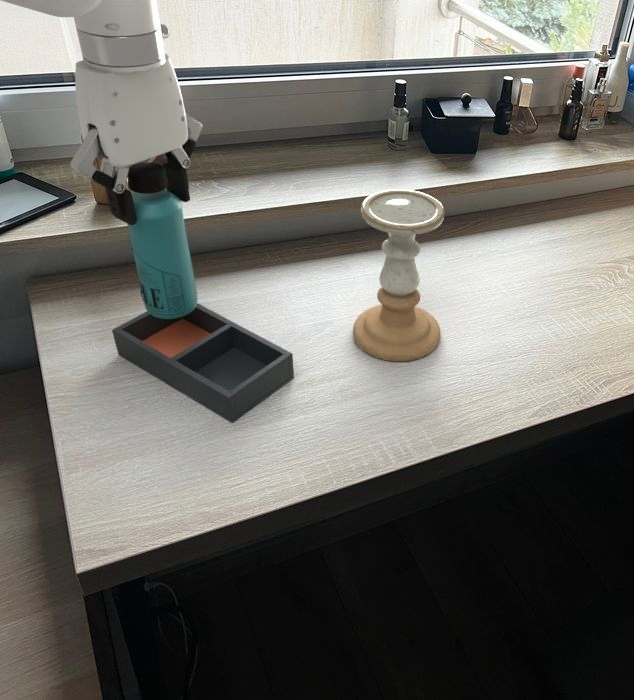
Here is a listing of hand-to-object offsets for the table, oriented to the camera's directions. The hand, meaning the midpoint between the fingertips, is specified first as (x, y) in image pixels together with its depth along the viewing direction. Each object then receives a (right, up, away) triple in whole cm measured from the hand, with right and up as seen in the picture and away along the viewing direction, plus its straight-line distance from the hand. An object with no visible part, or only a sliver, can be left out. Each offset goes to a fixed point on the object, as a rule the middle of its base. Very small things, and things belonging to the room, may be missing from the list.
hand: (152, 207), depth 82 cm
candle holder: (+26, -14, +20) cm, 36 cm away
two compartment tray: (+2, -18, +11) cm, 22 cm away
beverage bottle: (-1, -12, +9) cm, 15 cm away
